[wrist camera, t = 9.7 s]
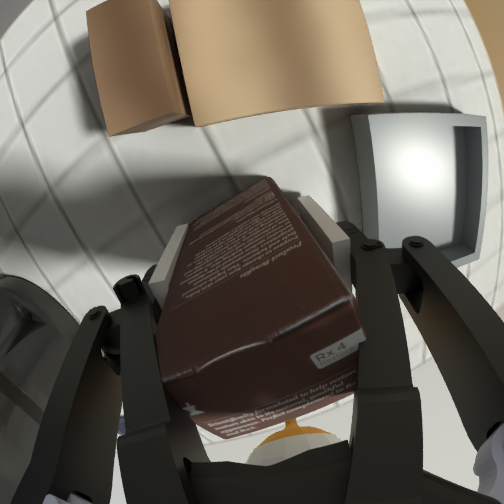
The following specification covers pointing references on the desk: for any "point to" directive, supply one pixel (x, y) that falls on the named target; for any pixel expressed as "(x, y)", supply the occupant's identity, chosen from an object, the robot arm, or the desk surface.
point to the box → (256, 318)
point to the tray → (424, 179)
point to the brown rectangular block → (136, 66)
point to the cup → (290, 443)
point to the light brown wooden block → (273, 56)
